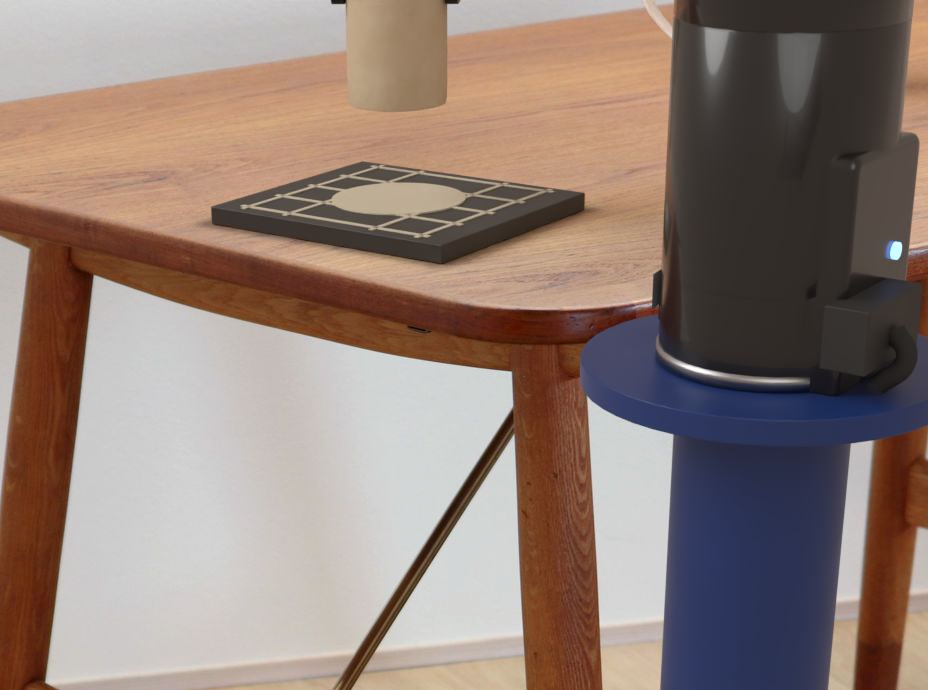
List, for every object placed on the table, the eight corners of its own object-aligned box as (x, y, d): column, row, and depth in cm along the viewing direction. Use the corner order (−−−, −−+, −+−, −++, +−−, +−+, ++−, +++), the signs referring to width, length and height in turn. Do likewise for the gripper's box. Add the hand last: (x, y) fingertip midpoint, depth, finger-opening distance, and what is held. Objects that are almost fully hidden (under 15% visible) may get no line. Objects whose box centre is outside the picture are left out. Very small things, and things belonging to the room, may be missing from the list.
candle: (356, 94, 110) (352, -92, 105) (452, 94, 109) (452, -93, 104) (340, 112, 105) (335, -82, 100) (440, 113, 104) (440, -83, 99)
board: (584, 210, 110) (585, 190, 109) (441, 264, 100) (441, 243, 99) (362, 177, 119) (362, 159, 118) (211, 223, 109) (210, 204, 108)
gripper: (239, -342, 95) (253, 13, 102) (531, -351, 93) (525, 12, 100) (266, -339, 102) (278, -6, 109) (539, -348, 100) (533, -8, 107)
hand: (396, 1), depth 104 cm, fingers closed on candle, 5 cm apart
